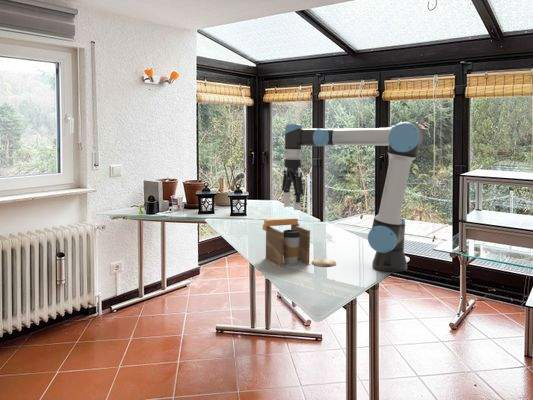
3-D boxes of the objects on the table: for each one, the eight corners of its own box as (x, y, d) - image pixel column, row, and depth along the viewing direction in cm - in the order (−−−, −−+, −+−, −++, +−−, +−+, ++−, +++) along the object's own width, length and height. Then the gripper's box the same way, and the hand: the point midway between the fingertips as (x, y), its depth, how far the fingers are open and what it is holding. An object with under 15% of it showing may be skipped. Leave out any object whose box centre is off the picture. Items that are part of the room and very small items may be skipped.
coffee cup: (277, 262, 232) (278, 230, 230) (290, 260, 238) (291, 228, 236) (290, 266, 226) (291, 233, 224) (303, 263, 232) (304, 231, 230)
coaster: (328, 259, 239) (328, 258, 239) (340, 265, 229) (340, 264, 229) (307, 261, 235) (307, 260, 235) (319, 267, 225) (319, 266, 225)
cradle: (292, 255, 246) (293, 224, 244) (309, 264, 231) (310, 230, 229) (265, 258, 240) (266, 226, 238) (280, 267, 225) (281, 232, 223)
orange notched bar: (296, 227, 245) (296, 217, 245) (299, 228, 242) (299, 218, 242) (262, 229, 238) (262, 219, 238) (265, 230, 235) (265, 220, 235)
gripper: (274, 157, 234) (274, 205, 237) (296, 160, 214) (295, 212, 217) (289, 157, 237) (288, 204, 240) (311, 159, 217) (310, 211, 220)
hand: (291, 208), depth 229 cm, fingers open, 9 cm apart
